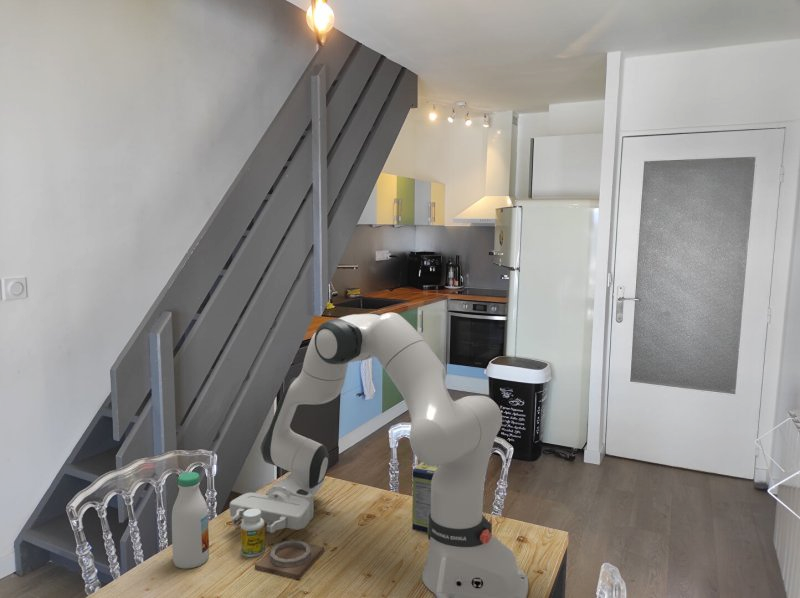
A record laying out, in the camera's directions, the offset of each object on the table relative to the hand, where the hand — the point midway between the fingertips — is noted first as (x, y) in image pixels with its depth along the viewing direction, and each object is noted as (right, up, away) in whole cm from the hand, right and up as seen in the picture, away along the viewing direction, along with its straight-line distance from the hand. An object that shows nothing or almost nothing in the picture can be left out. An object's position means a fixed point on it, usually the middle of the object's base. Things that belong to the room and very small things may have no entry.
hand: (251, 525), depth 132 cm
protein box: (+45, -5, +17) cm, 48 cm away
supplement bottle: (0, -7, +1) cm, 7 cm away
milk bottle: (-13, -7, -3) cm, 15 cm away
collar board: (+10, -7, -2) cm, 12 cm away
